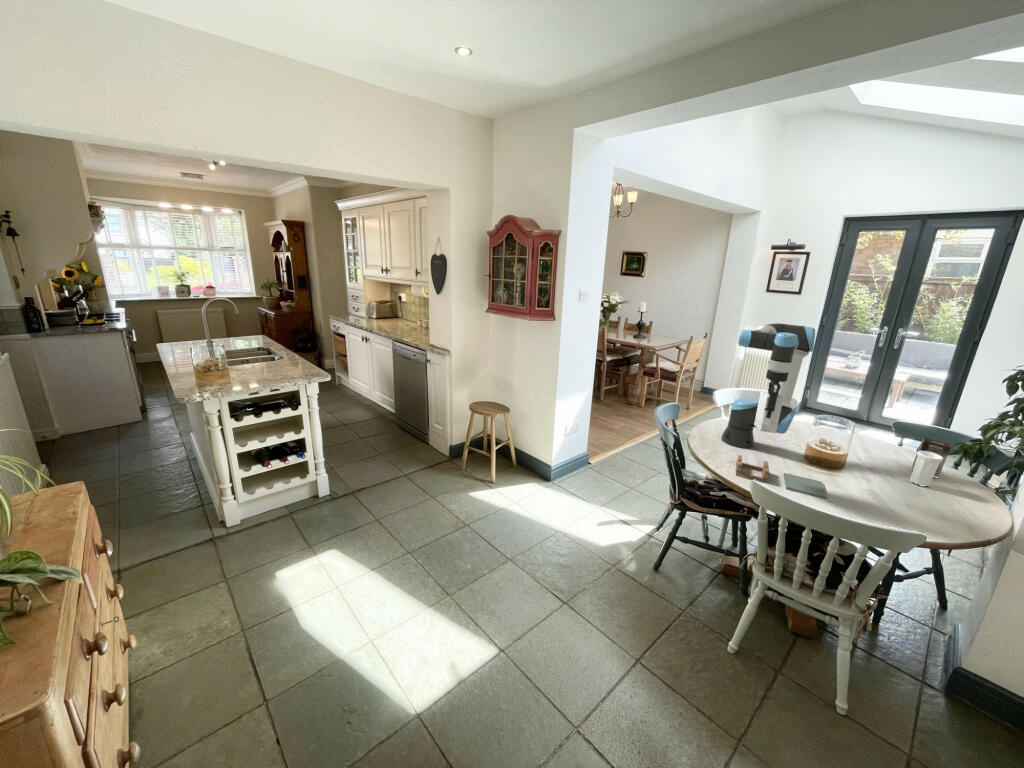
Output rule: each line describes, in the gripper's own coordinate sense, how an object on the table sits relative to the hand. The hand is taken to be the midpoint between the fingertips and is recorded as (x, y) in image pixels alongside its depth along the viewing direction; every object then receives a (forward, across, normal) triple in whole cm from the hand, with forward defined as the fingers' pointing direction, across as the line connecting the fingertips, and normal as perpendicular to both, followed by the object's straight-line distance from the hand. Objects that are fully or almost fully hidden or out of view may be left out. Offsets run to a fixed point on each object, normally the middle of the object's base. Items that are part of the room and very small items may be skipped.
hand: (765, 420), depth 177 cm
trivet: (+26, 0, +19) cm, 32 cm away
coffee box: (+26, -48, +71) cm, 89 cm away
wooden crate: (+26, 0, -1) cm, 26 cm away
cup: (+26, -33, +65) cm, 77 cm away
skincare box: (+4, 0, 0) cm, 4 cm away
